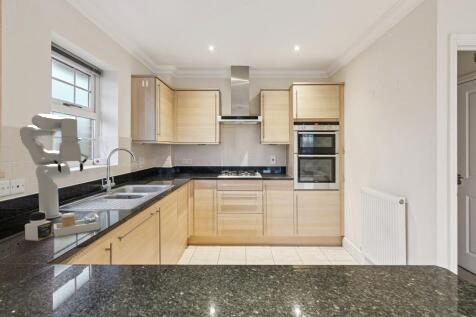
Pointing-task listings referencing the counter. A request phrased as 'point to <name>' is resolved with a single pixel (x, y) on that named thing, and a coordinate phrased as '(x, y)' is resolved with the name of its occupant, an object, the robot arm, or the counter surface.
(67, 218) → the jar
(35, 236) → the medicine bottle
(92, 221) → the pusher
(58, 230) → the lane
